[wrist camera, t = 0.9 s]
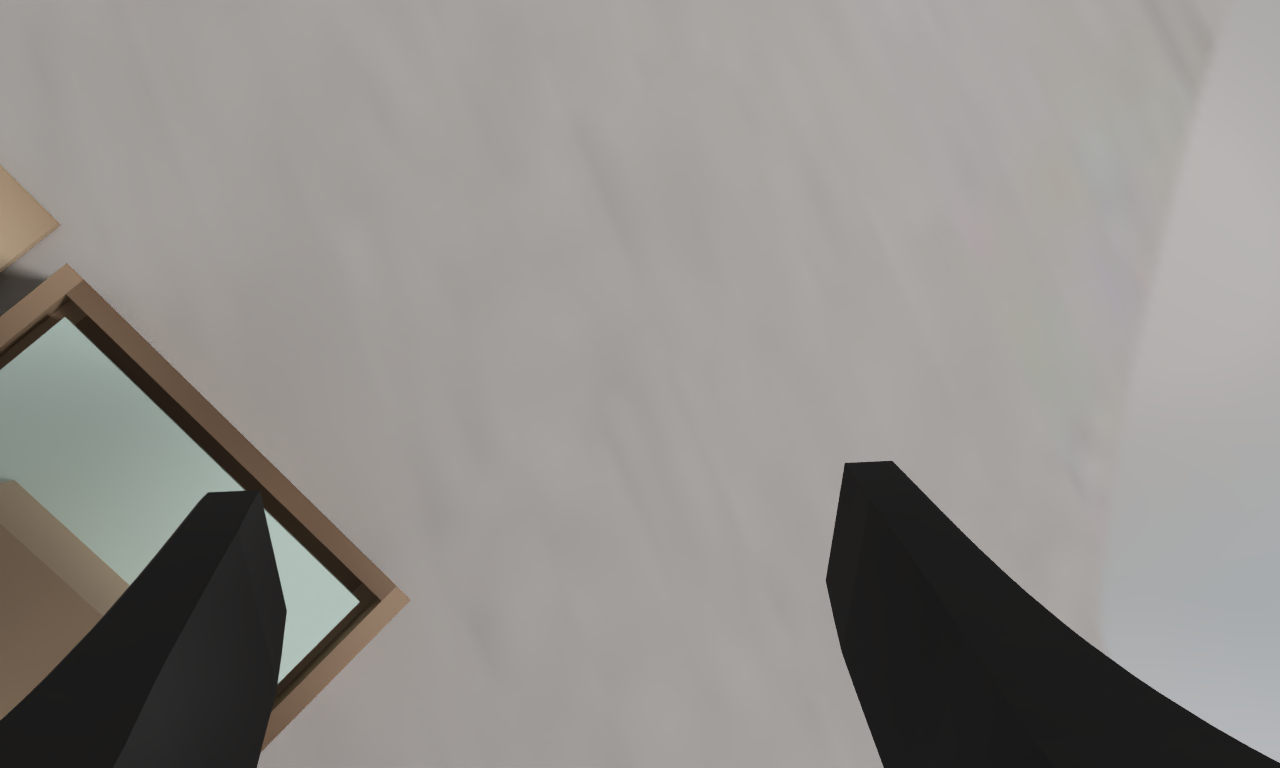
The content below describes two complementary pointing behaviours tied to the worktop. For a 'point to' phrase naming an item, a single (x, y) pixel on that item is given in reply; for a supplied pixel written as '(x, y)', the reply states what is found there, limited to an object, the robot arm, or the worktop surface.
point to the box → (237, 458)
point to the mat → (20, 220)
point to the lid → (106, 508)
